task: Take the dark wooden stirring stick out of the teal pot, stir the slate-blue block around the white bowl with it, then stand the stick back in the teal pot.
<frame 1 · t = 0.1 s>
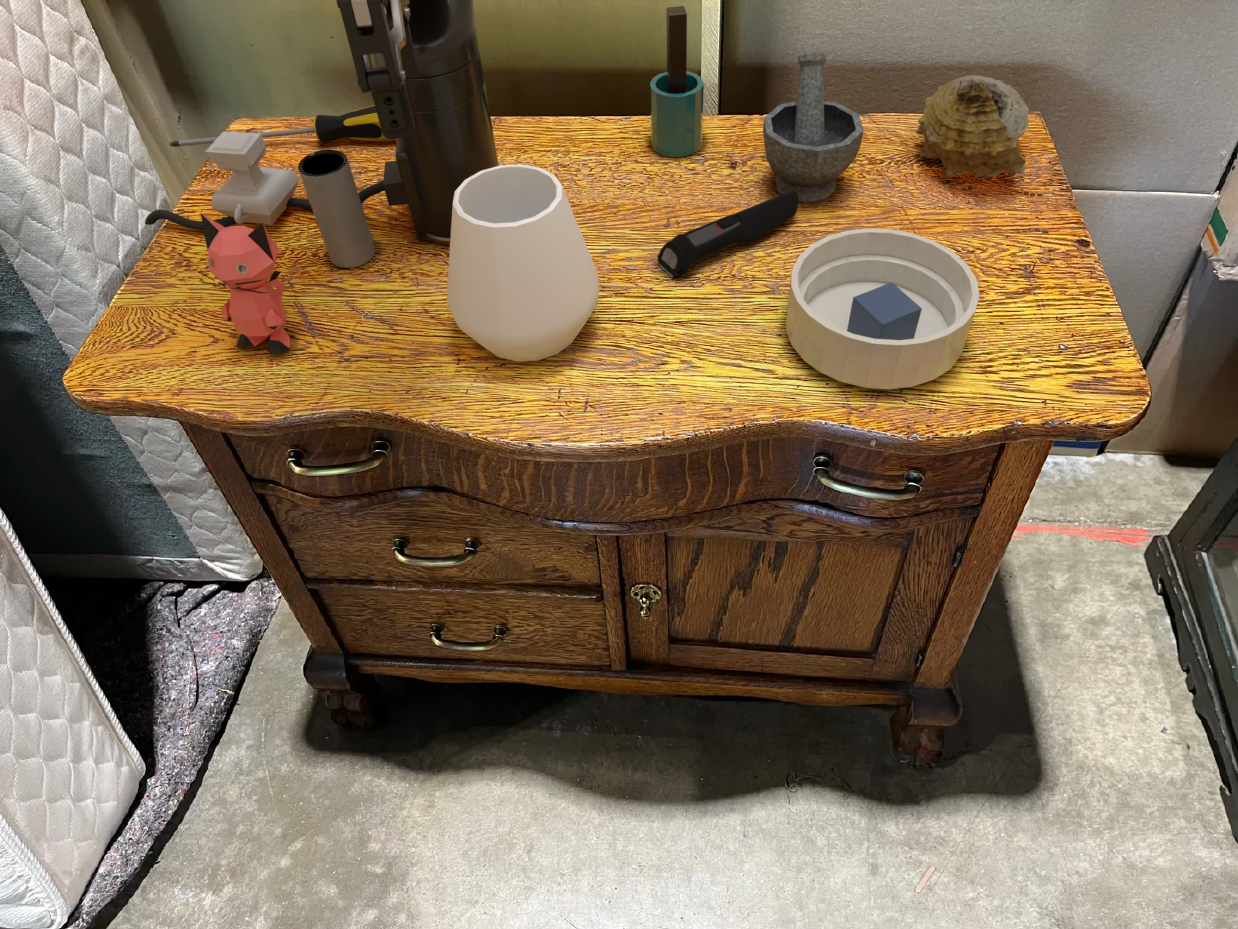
hand: (402, 104, 65), 22 cm above the dresser, tool pointing down, fingers open, 8 cm apart
screwdriver: (424, 118, 103), point 2 cm above the dresser
grey hollow cylinder: (353, 256, 91), on the dresser
electric trimmer: (727, 244, 89), on the dresser
block: (879, 338, 78), point 1 cm above the dresser, touching bowl
stick: (676, 139, 101), resting on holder
seashell: (1018, 96, 90), point 7 cm above the dresser
cat figurine: (269, 341, 83), on the dresser
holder: (676, 143, 101), on the dresser
mortar and pestle: (804, 182, 95), on the dresser
cup: (529, 328, 82), on the dresser
stamp: (265, 215, 96), on the dresser
bowl: (872, 332, 80), on the dresser
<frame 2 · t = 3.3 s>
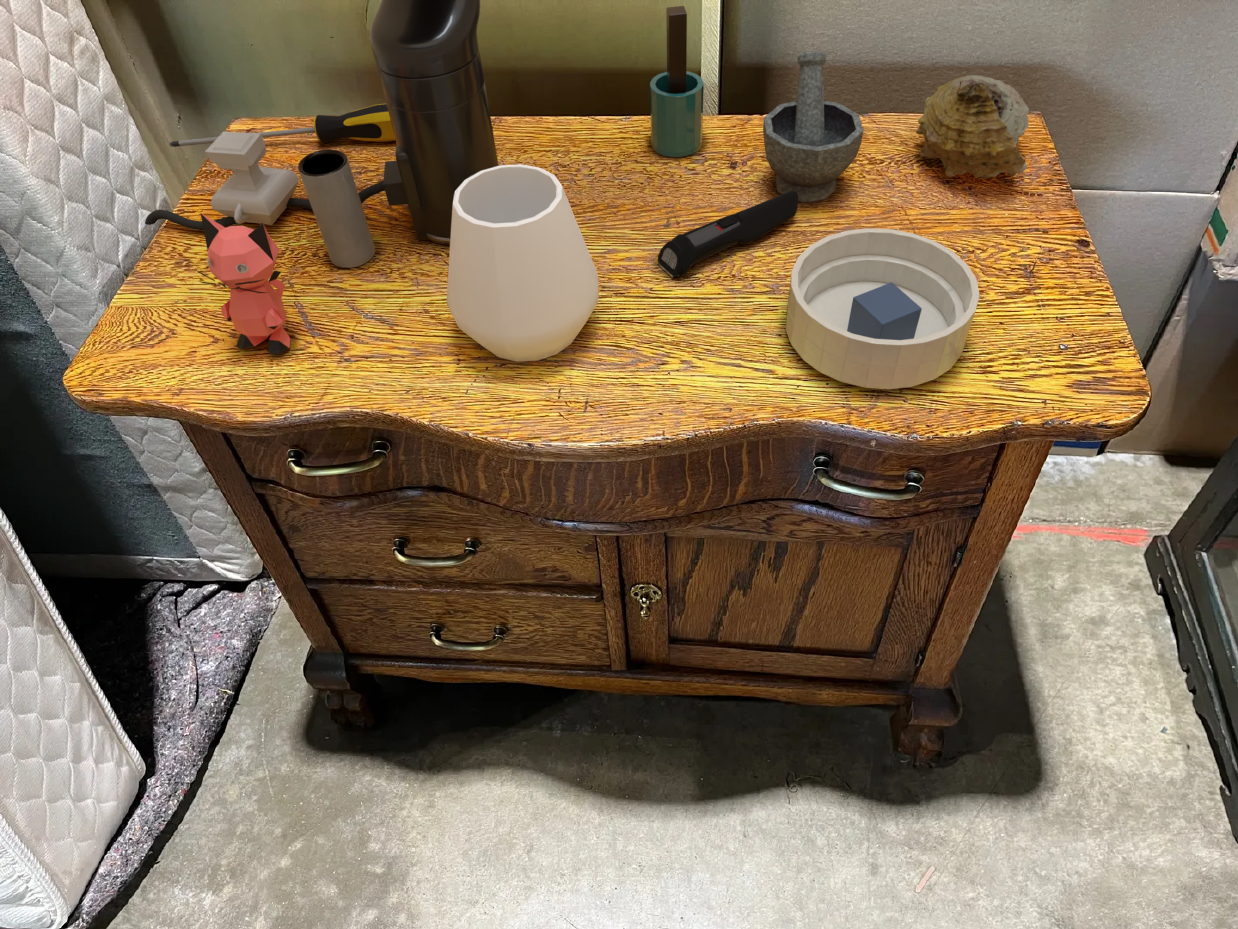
nothing on the dresser moved.
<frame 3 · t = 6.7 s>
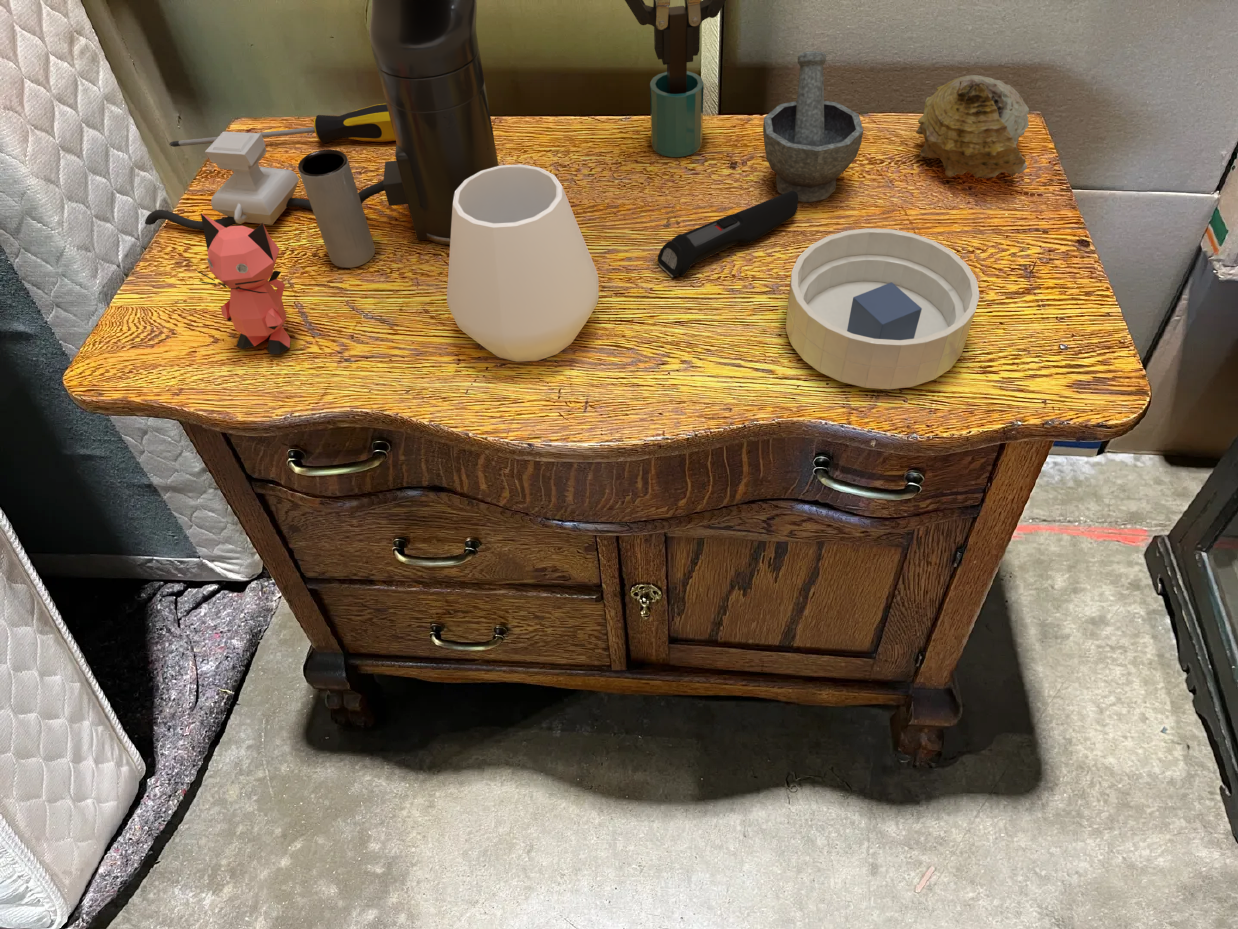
hand: (676, 59, 94), 10 cm above the dresser, tool pointing down, fingers closed on stick, 2 cm apart
stick: (676, 139, 101), point 1 cm above the dresser, touching gripper
everything else where it was.
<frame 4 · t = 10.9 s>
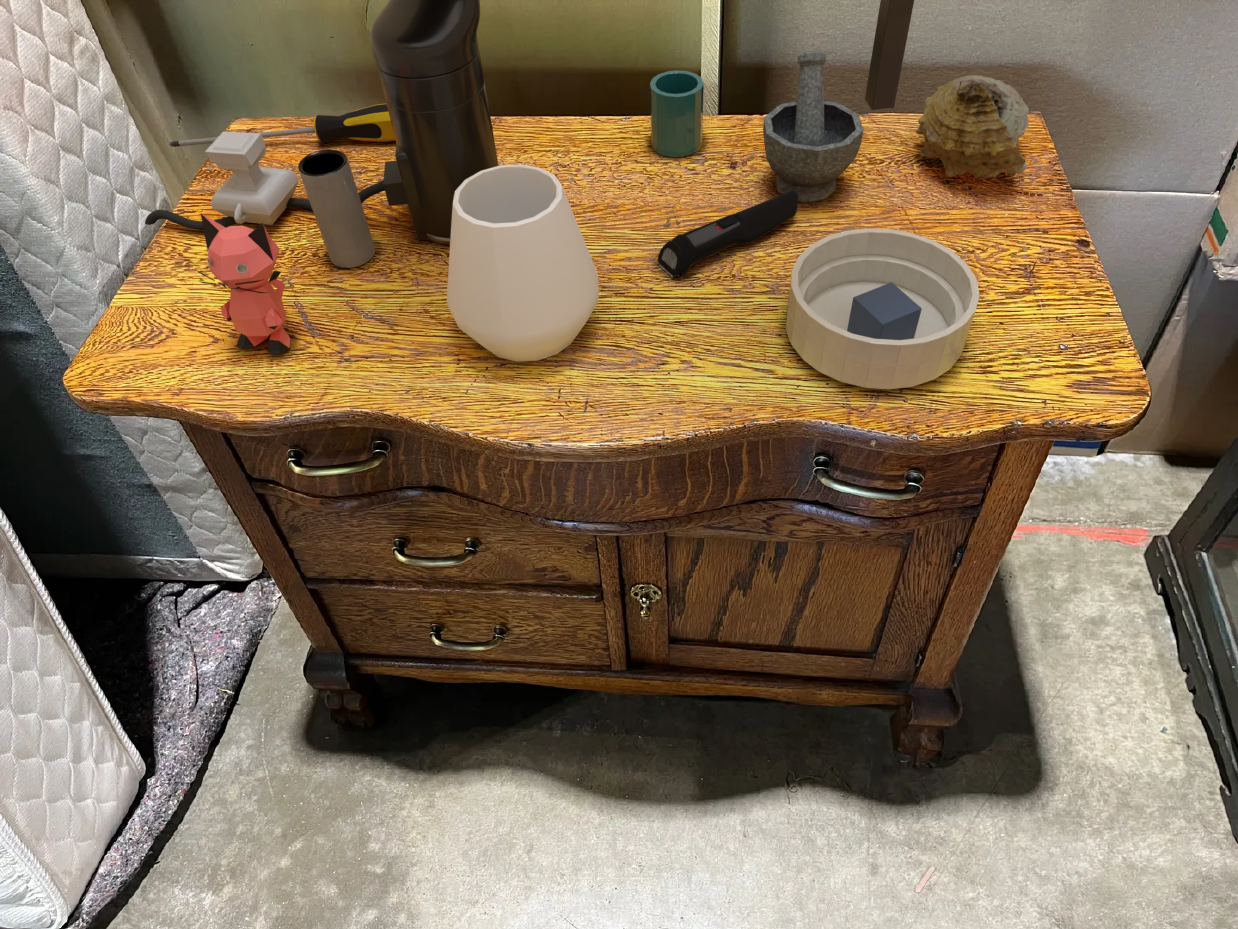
stick: (879, 103, 70), point 18 cm above the dresser, touching gripper
everything else where it was.
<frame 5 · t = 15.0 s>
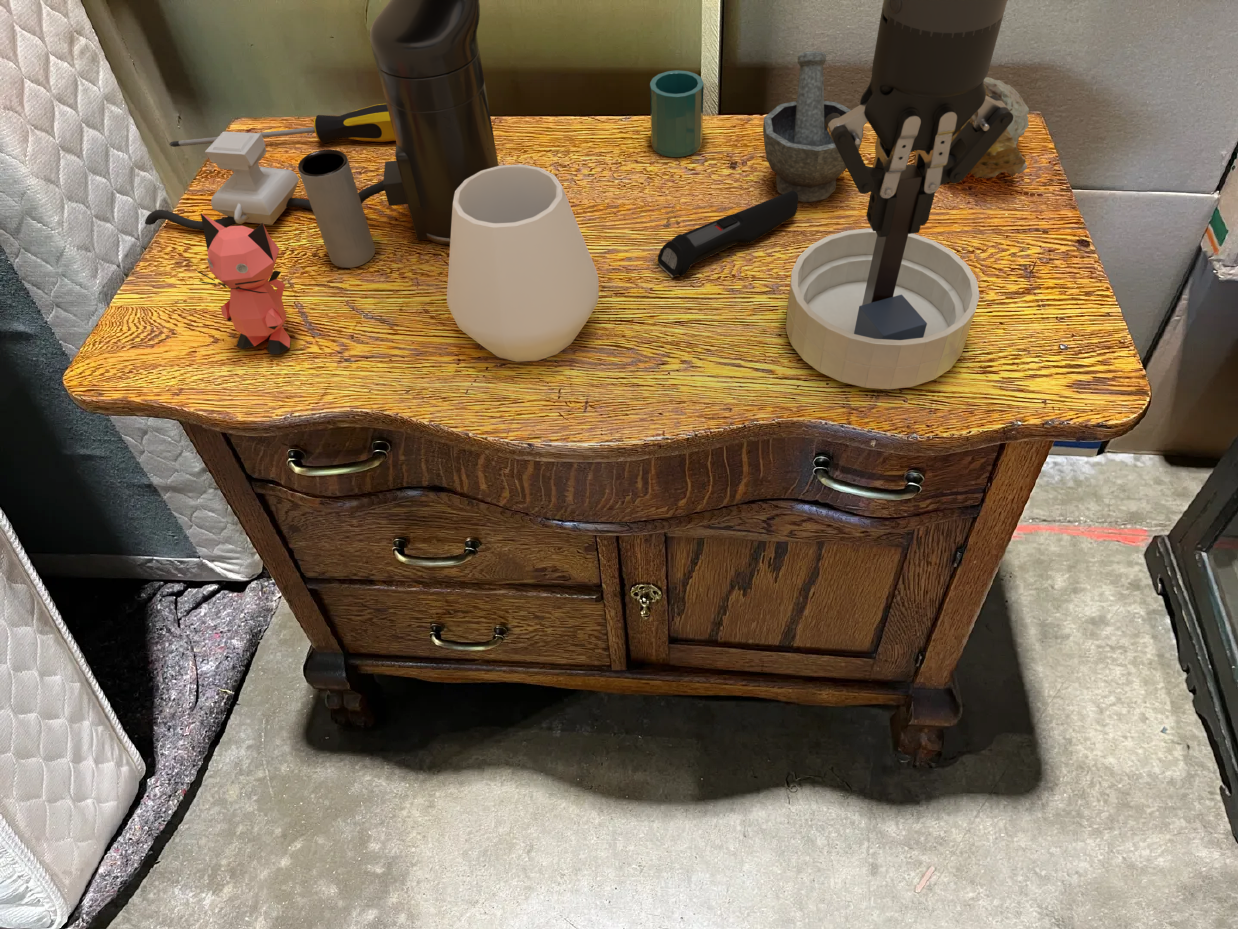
hand: (894, 228, 71), 11 cm above the dresser, tool pointing down, fingers closed on stick, 2 cm apart
block: (884, 350, 77), point 1 cm above the dresser, touching bowl
stick: (874, 313, 78), point 2 cm above the dresser, touching gripper
everything else where it was.
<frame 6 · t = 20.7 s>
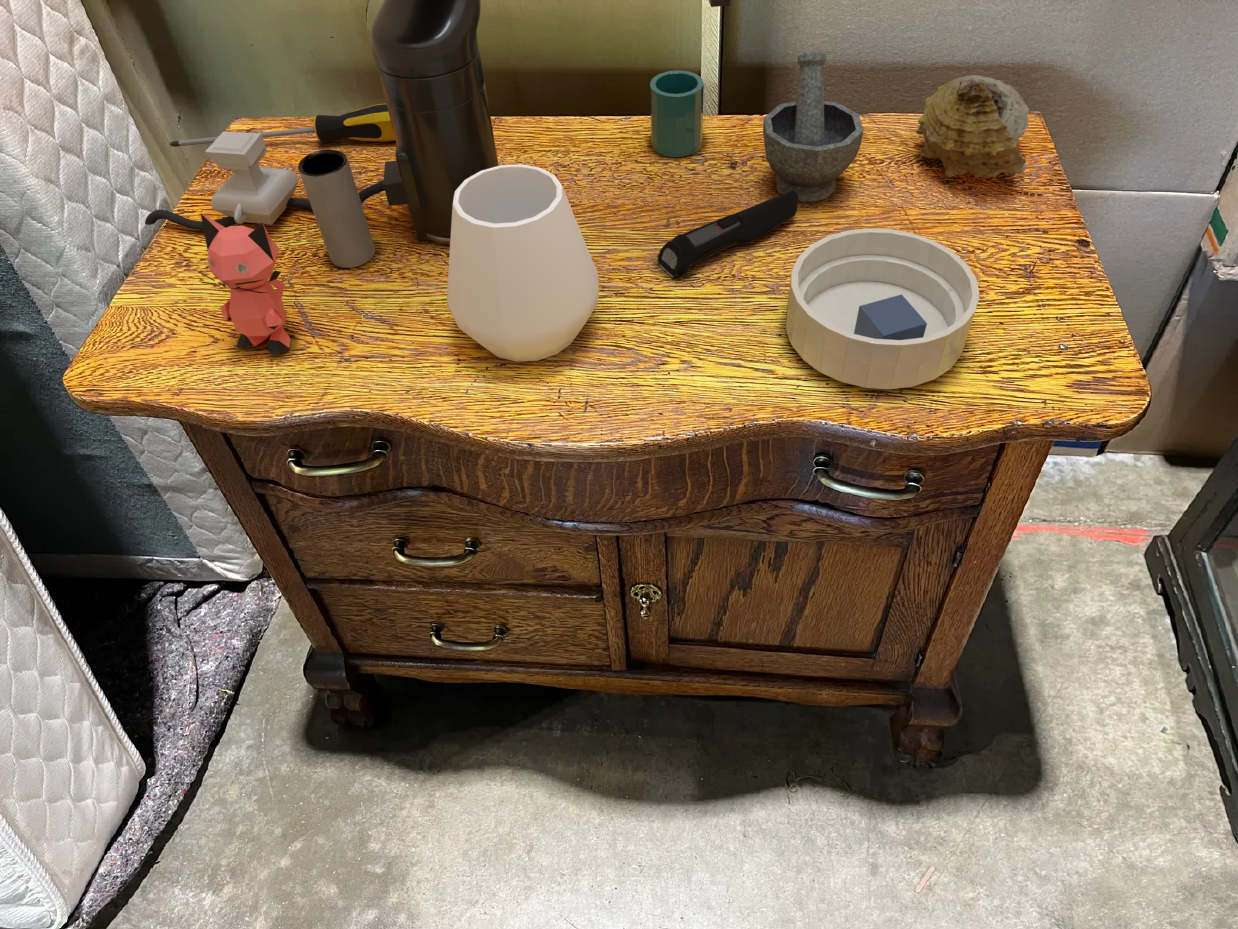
stick: (718, 1, 83), point 18 cm above the dresser, touching gripper
everything else where it was.
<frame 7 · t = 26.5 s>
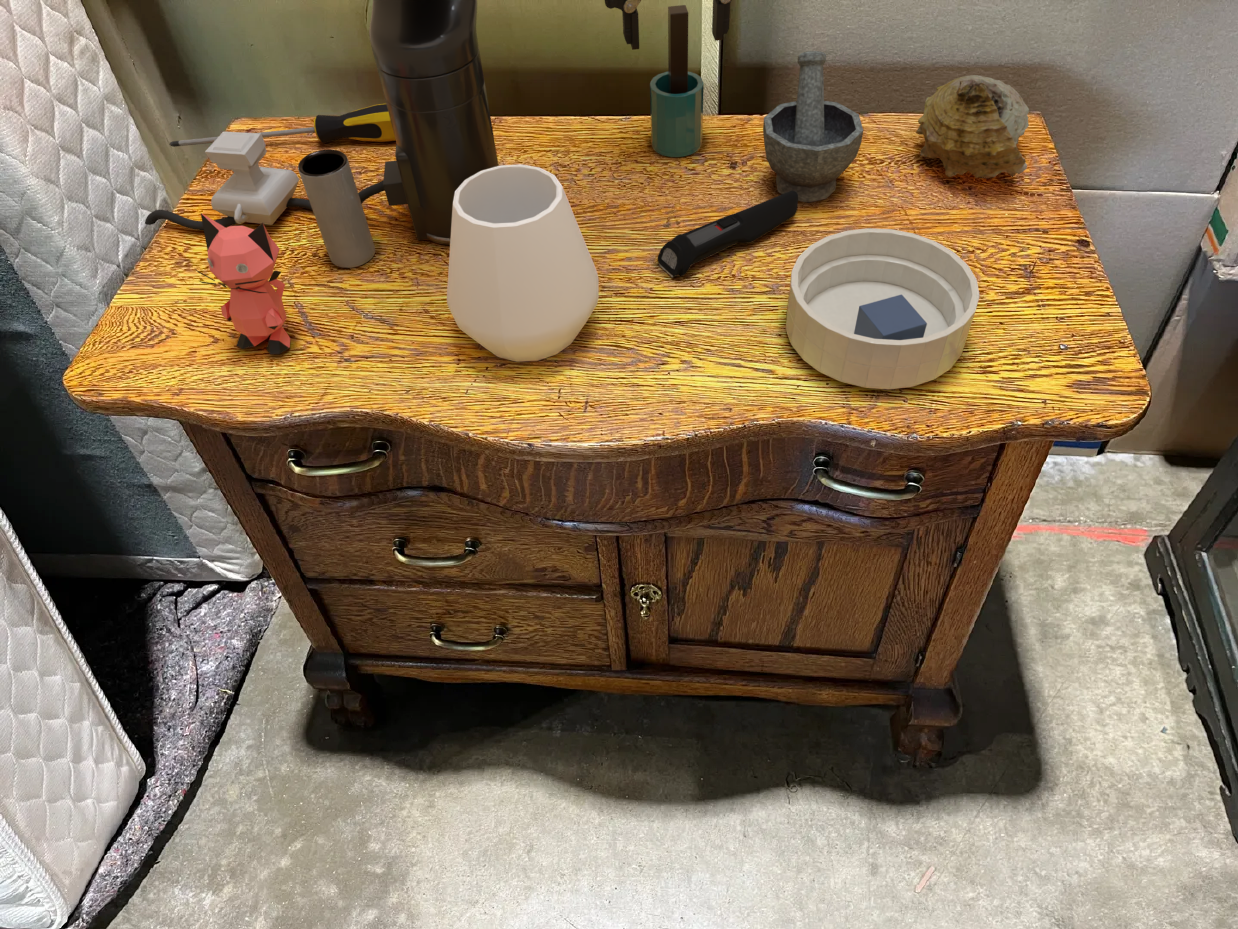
hand: (675, 41, 93), 11 cm above the dresser, tool pointing down, fingers open, 8 cm apart
stick: (678, 138, 101), resting on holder
everything else where it was.
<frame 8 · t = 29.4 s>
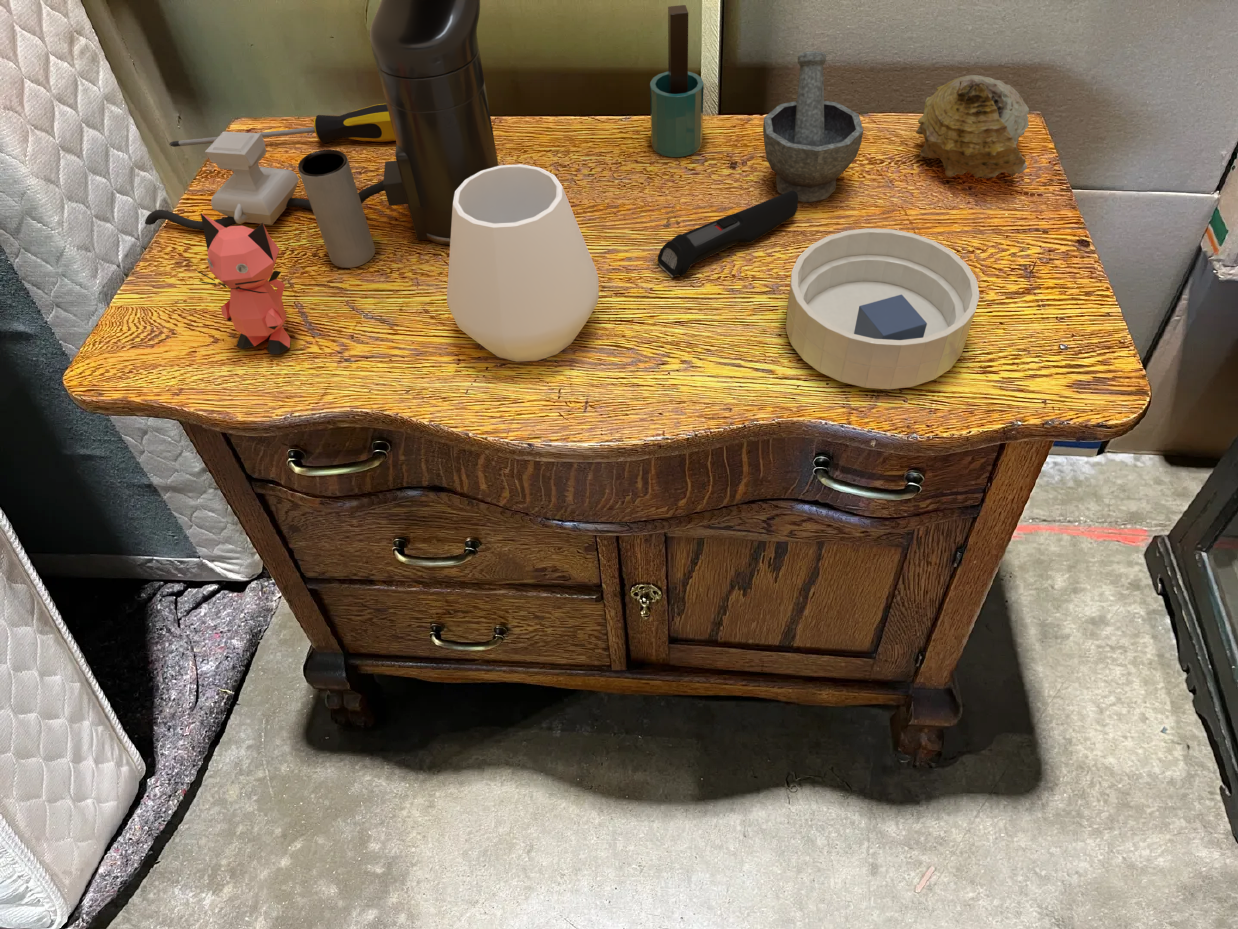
nothing on the dresser moved.
at the end: block moved 1.5 cm from its start; block inside the target area in the bowl (3.0 cm from its centre), point 0.6 cm above the bowl's base; stick 0.3 cm off-centre in the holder, point 0.5 cm above the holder's base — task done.
